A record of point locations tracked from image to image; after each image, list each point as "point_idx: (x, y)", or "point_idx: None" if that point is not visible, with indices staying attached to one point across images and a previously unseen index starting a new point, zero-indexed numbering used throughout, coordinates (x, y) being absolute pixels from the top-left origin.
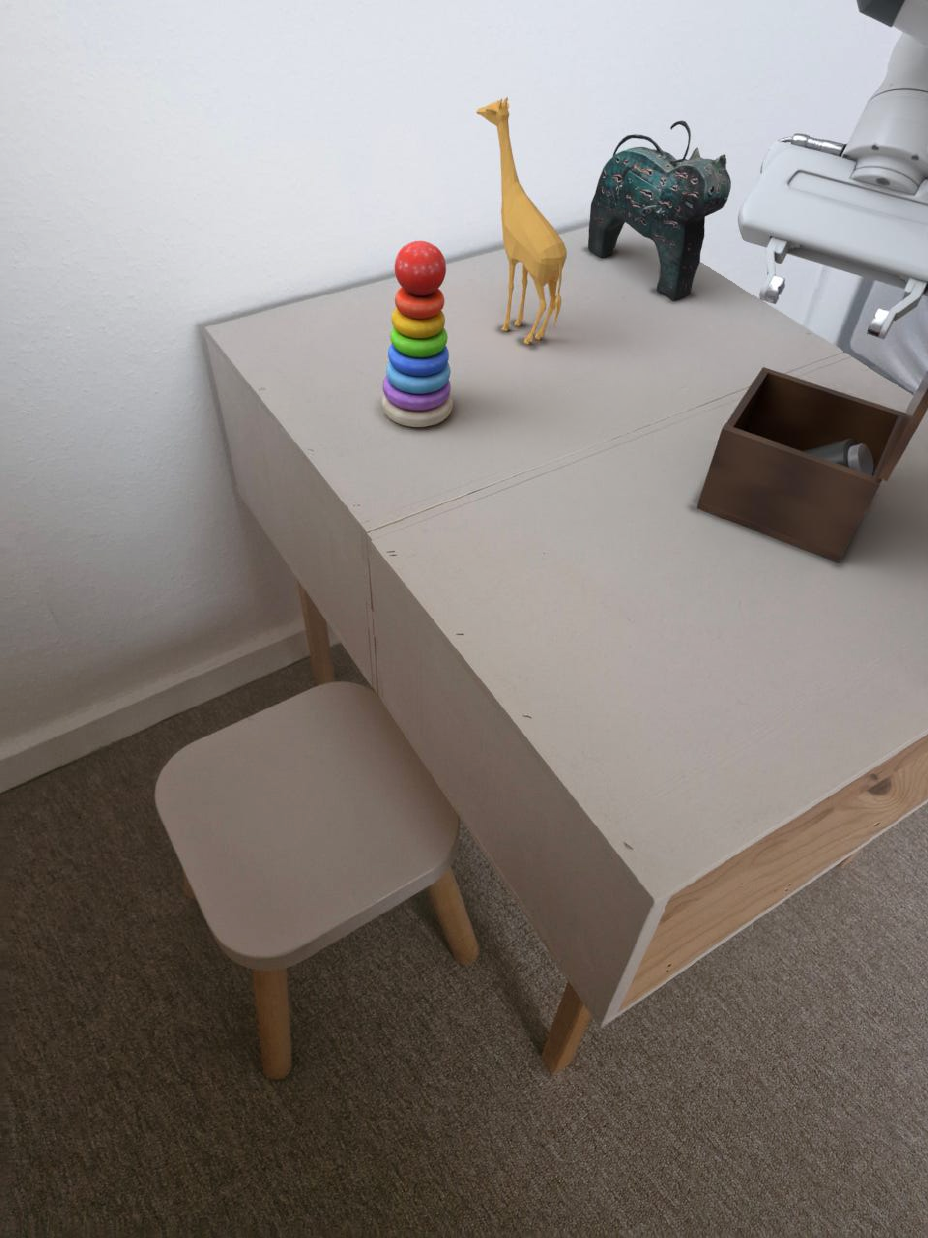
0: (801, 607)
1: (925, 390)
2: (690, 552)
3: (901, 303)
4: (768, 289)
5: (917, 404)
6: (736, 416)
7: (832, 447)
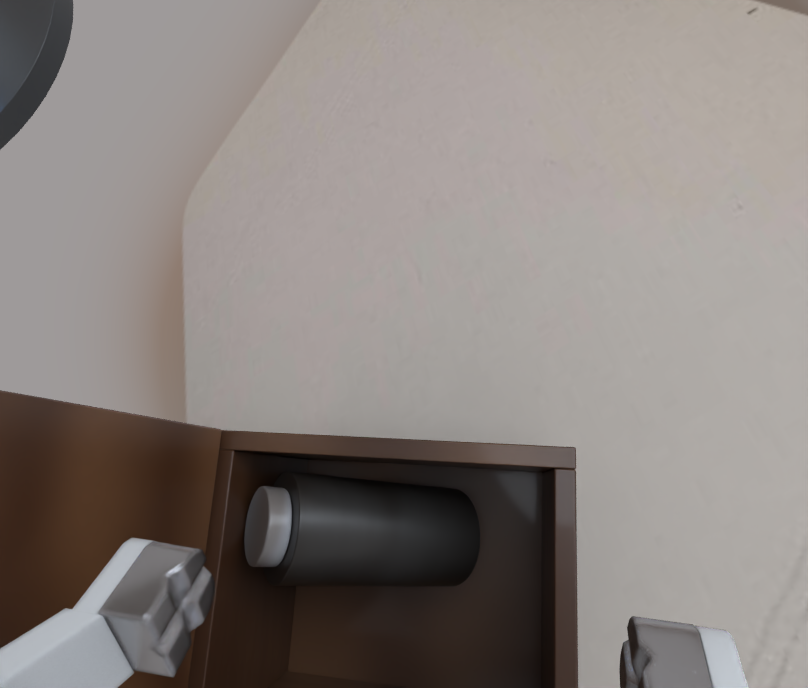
0: (337, 318)
1: (54, 428)
2: (523, 340)
3: (35, 649)
4: (692, 637)
5: (94, 446)
6: (561, 517)
7: (326, 525)
